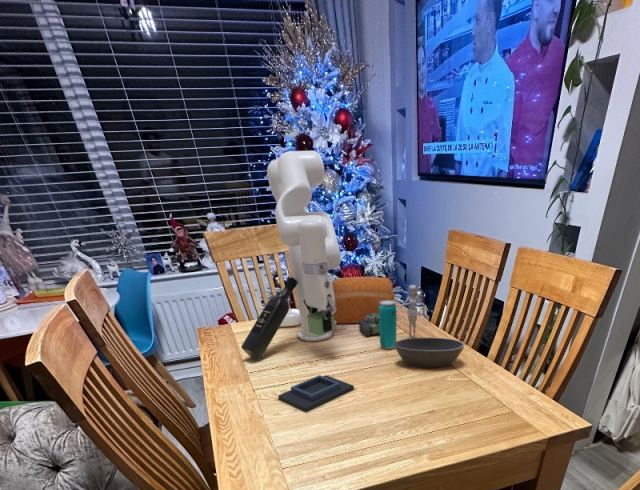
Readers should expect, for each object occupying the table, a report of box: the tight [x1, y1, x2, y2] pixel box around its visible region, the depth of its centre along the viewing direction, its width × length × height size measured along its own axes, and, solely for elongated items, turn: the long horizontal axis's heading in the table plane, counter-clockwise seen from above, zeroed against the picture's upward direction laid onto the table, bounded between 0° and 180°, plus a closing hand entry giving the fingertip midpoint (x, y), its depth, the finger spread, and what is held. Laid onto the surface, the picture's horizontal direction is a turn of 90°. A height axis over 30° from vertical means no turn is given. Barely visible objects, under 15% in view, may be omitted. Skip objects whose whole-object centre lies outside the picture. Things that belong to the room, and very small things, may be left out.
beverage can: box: [379, 300, 398, 350], centre depth 146 cm, size 6×6×15 cm
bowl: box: [394, 337, 465, 369], centre depth 136 cm, size 12×22×6 cm, turn 83°
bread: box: [332, 276, 395, 324], centre depth 172 cm, size 14×26×16 cm, turn 88°
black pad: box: [277, 374, 355, 413], centre depth 122 cm, size 18×12×3 cm, turn 138°
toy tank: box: [358, 313, 380, 338], centre depth 162 cm, size 10×12×7 cm
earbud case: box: [279, 308, 301, 328], centre depth 172 cm, size 10×13×5 cm
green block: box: [307, 310, 336, 336], centre depth 140 cm, size 7×5×6 cm
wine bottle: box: [240, 276, 298, 360], centre depth 145 cm, size 6×6×30 cm
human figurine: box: [396, 284, 430, 339], centre depth 151 cm, size 12×4×18 cm, turn 93°
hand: (322, 328), depth 141 cm, fingers closed on green block, 5 cm apart
